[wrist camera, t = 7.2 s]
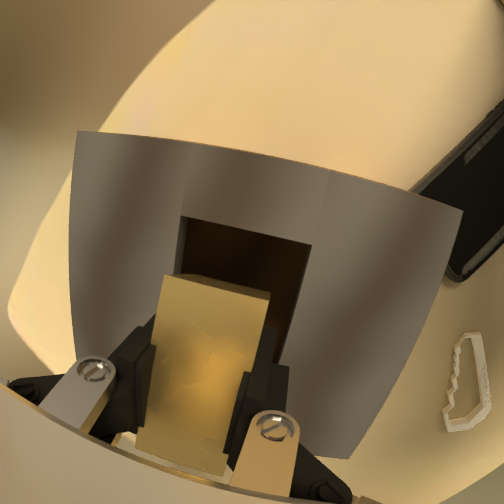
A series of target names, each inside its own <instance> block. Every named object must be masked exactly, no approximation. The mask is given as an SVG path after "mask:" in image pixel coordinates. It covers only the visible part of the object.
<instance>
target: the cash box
mask: <svg viewBox="0 0 504 504" xmlns="http://www.w3.org/2000/svg"><path fill="white" fill-rule="evenodd" d="M462 214H463V211H462V210H460V209H457V208H454V207H452V206H449V205H446V204H443V203H441V202H438V201H435V200H432V199H429V198H426V197H423V196H420V195H417V194H414V193H411V192H408V191H405V190H402V189H399V188H396V187H392V186H389V185H386V184H382V183H379V182H375V181H372V180H368V179H365V178H361V177H357V176H354V175H350V174H346V173H342V172H339V171H335V170H331V169H327V168H323V167H318V166H314V165H310V164H306V163H301V162H297V161H292V160H288V159H283V158H279V157H274V156H269V155H264V154H259V153H254V152H248V151H243V150H238V149H232V148H226V147H220V146H214V145H208V144H202V143H195V142H188V141H181V140H174V139H166V138H158V137H149V136H139V135H129V134H117V133H104V132H89V131H77V138H76V145H75V153H74V161H73V171H72V182H71V195H70V213H69V284H70V302H71V315H72V326H73V336H74V344H75V352H76V359H77V361H78V360H79V359H81V358H83V357H87V356H99V357H104V358H106V359H107V358H108V357H109V356H110V355H111V354H112V353H113V351H114V350H115V349H116V348H117V347H118V346H119V345H120V344H121V343H122V342H123V341H124V340H125V339H126V338H127V336H128V335H129V334H130V333H131V332H132V331H133V330H134V329H135V328H136V327H137V326H142V327H143V326H144V325H145V324H146V323H147V322H148V321H149V320H150V319H151V317H152V316H153V315H154V314H155V313H156V312H157V307H158V302H159V297H160V293H161V288H162V283H163V279H164V274H197V275H201V276H205V277H209V278H213V279H217V280H221V281H225V282H229V283H233V284H237V285H241V286H245V287H249V288H253V289H257V290H262V291H266V292H270V293H271V294H270V299H269V303H268V308H267V312H266V316H265V320H264V324H263V326H267V327H271V328H275V329H277V332H276V338H275V344H274V350H273V356H272V362H271V363H276V364H280V365H285V366H289V367H290V368H289V381H288V392H287V402H286V414H288V415H290V416H291V417H293V418H294V419H295V421H296V422H297V423H298V425H299V427H300V436H299V443H300V444H302V445H303V446H304V447H305V448H306V449H307V450H308V451H309V452H310V453H311V454H312V455H315V456H322V457H331V458H340V459H349V457H350V456H351V455H352V453H353V452H354V450H355V449H356V447H357V446H358V444H359V443H360V441H361V440H362V438H363V437H364V435H365V434H366V432H367V430H368V429H369V427H370V426H371V424H372V423H373V421H374V419H375V418H376V416H377V414H378V413H379V411H380V409H381V408H382V406H383V404H384V402H385V401H386V399H387V397H388V395H389V394H390V392H391V390H392V388H393V386H394V385H395V383H396V381H397V379H398V377H399V375H400V373H401V371H402V370H403V368H404V366H405V364H406V362H407V360H408V358H409V356H410V354H411V351H412V349H413V347H414V345H415V343H416V341H417V339H418V337H419V334H420V332H421V330H422V328H423V325H424V323H425V321H426V318H427V316H428V314H429V311H430V309H431V306H432V304H433V301H434V299H435V296H436V294H437V291H438V289H439V286H440V283H441V281H442V278H443V275H444V272H445V269H446V267H447V264H448V261H449V258H450V255H451V252H452V248H453V245H454V242H455V239H456V235H457V232H458V229H459V225H460V222H461V218H462Z"/></svg>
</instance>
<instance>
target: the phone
mask: <svg viewBox="0 0 504 504" xmlns="http://www.w3.org/2000/svg"><path fill="white" fill-rule="evenodd" d="M486 116H487V117H486V118H485V119H484V120H483V121H482V122H481V123H480V124H479V125H478V126H477V127H476V128H475V129H473V130H472V131H471V132H470V133H469V134H468V135H467V136H466V137H465V138H464V139H463V140H462V141H461V142H460V143H459V144H458V145H457V146H456V147H455V148H454V149H453V150H452V151H451V152H450V153H449V154H447V155H446V156H445V157H444V158H443V159H442V160H441V161H440V162H439V163H438V164H437V165H436V166H435V167H434V168H432V169H431V170H430V171H429V172H428V173H427V174H426V175H425V176H424V177H423V178H422V179H420V180H419V181H418V182H417V183H416V184H415V185H414V186H413V187H412V188H411V189H409V190H408V192H411V193H414V194H417V195H420V196H423V197H426V198H429V199H432V200H435V201H438V202H441V203H443V204H446V205H449V206H452V207H454V208H457V209H460V210H462V211H463V214H462V218H461V222H460V225H459V229H458V232H457V235H456V239H455V242H454V245H453V248H452V252H451V255H450V258H449V261H448V264H447V267H446V269H445V272H444V273H445V274H446V275H447V277H448V278H449V279H451V280H452V281H454V282H458V283H460V282H463V281H465V280H466V279H468V278H469V277H470V276H471V275H472V274H473V273H474V272H475V271H476V270H477V269H478V268H479V267H480V266H481V265H482V264H483V263H484V262H486V261H487V260H488V259H489V258H490V257H491V256H492V255H493V254H494V253H495V252H496V251H497V250H498V249H499V248H500V246H501V245H502V244H503V243H504V99H503V100H502V101H501V102H500V103H499V104H498V105H497V106H496V107H495V109H493V110H491V111H490V112H489V113H488V114H487V115H486Z"/></svg>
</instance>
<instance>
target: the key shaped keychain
mask: <svg viewBox="0 0 504 504" xmlns="http://www.w3.org/2000/svg"><path fill="white" fill-rule="evenodd" d="M465 338H471V342H472V347H473V353H474V359H475V365H476V371H477V378H478V386H479V394H480V403H479V404H478V405H477V406H476V407H475V408H474V409H473V410H472V411H471V412H470V413H469V414H468V415H467V416H466V417H462V418H456V419H449V417H448V412H449V411H450V410H451V409H452V408H453V407H454V406H455V402H454V397H453V393H454V392H455V391H456V390H457V389H458V384H457V379H456V378H457V377H458V376H459V374H460V371H459V367H458V365H459V364H460V360H459V356H458V355H459V354H460V353H461V348H460V344H461V343H462V342H463V341H464V339H465ZM453 348H454V352H455V354H454V355H453V359H454V363H453V364H452V365H453V369H454V373H453V374H452V375H451V376H450V377H451V382H452V387H451V388H450V389H449V390H448V391H447V395H448V399H449V404H448V405H447V406H446V407H445V408H443V409H442V412H443V417H444V421H445V425H446V428H447V431H448V433H449V432H456V431H463V430H469V429H472V428H473V427H474V426H475V425H476V424H477V423H478V422H480V421H482V420H483V419H484V418H485V417H486V416H487V415H488V412H489V411H490V410H491V397H490V388H489V380H488V372H487V365H486V358H485V352H484V347H483V341H482V336H481V334H480V333H479V332H467V333H464V334H463V336H462V337H461V338H460V339H459V341H458V342H457V343H456V344H455V345H454V347H453Z"/></svg>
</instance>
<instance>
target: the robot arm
mask: <svg viewBox="0 0 504 504" xmlns="http://www.w3.org/2000/svg"><path fill="white" fill-rule="evenodd" d="M501 1H502V3H503V4H504V0H501ZM155 317H156V313H155V314H154V315H153V316H152V317H151V319H150V320H149V321H148V322H147V323H146V324H145V325H144V326H143V327H142V326H137V327H136V328H135V329H134V330H133V331H132V332H131V333H130V334H129V335H128V336H127V338H126V339H125V340H124V341H123V342H122V343H121V344H120V345H119V346H118V347H117V348H116V349H115V350H114V351H113V353H112V354H111V355H110V356H109V357H108V358H107V359H106V358H104V357H99V356H87V357H83V358H81V359H79V360H78V361H76V362H75V363H74V364H73V366H72V367H71V368H70V369H69V370H68V371H67V373H66V374H60V375H51V376H41V377H29V378H20V379H16V380H14V381H12V382H11V383H9V380H7V379H2V378H0V504H382V503H379V502H377V501H374V500H372V499H369V498H367V497H364V496H361V497H360V498H358V497H356V496H354V495H352V492H351V490H350V488H349V487H348V486H347V485H346V484H345V483H344V482H343V481H342V480H341V479H340V478H338V477H337V476H336V475H335V474H334V473H333V472H331V471H330V470H329V469H328V468H327V467H326V466H325V465H324V464H322V463H321V462H320V461H319V460H318V459H317V458H316V457H315V456H313V455H312V454H311V453H310V452H309V451H308V450H307V449H306V448H305V447H304V446H303V445H302V444H300V443H299V436H300V427H299V425H298V423H297V422H296V421H295V419H294V418H293V417H291V416H290V415H288V414H286V402H287V392H288V381H289V368H290V367H289V366H285V365H280V364H276V363H271V362H272V356H273V350H274V344H275V338H276V332H277V329H275V328H271V327H267V326H263V328H262V332H261V336H260V340H259V344H258V348H257V352H256V355H255V359H254V363H253V367H252V371H251V372H247V371H244V373H243V376H242V379H241V383H240V386H239V390H238V393H237V397H236V401H235V405H234V409H233V413H232V417H231V421H230V425H229V429H228V433H227V437H226V441H225V445H224V449H223V453H224V454H228V455H229V456H228V459H227V465H228V466H229V467H230V468H231V470H232V471H233V475H232V478H231V481H230V483H229V485H226V484H222V483H218V482H214V481H210V480H207V479H203V478H200V477H196V476H193V475H190V474H187V473H183V472H180V471H177V470H174V469H171V468H168V467H165V466H162V465H159V464H157V463H154V462H151V461H149V460H146V459H143V458H141V457H138V456H136V455H133V454H131V453H128V452H126V451H124V450H121V449H119V448H117V447H116V446H117V444H118V442H119V440H120V438H121V435H122V432H127V431H129V432H132V433H134V434H137V430H138V426H139V427H142V428H144V422H145V415H146V408H147V401H148V394H149V388H150V382H151V376H152V370H153V364H154V358H155V353H156V347H157V346H156V345H153V344H150V343H151V338H152V333H153V327H154V322H155Z"/></svg>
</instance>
